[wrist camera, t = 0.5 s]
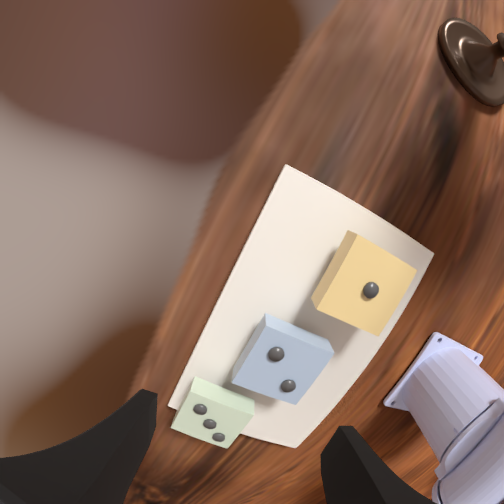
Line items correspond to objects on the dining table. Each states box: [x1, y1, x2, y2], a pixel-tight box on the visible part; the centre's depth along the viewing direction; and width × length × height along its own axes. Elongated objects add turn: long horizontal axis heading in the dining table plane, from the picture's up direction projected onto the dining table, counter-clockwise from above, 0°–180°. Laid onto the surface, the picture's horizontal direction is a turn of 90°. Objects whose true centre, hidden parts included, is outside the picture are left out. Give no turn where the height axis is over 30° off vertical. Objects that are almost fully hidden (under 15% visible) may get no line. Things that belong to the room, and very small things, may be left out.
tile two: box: [232, 313, 334, 405], centre depth 16 cm, size 4×4×2 cm
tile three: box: [171, 376, 254, 448], centre depth 17 cm, size 4×4×2 cm
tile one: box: [311, 230, 417, 336], centre depth 15 cm, size 4×4×2 cm
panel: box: [168, 164, 434, 448], centre depth 18 cm, size 12×20×2 cm, turn 154°
